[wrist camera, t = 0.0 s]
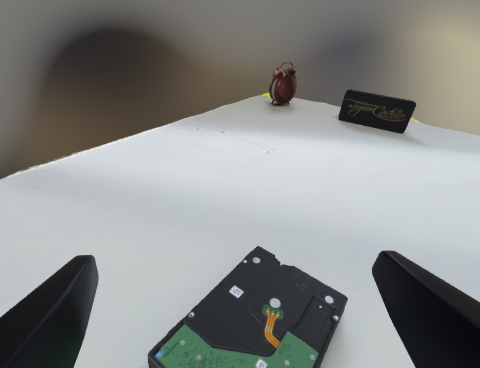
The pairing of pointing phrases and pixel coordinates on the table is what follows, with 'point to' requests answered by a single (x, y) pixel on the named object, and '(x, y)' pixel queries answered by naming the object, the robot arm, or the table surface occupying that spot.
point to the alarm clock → (283, 84)
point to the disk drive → (255, 321)
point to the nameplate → (376, 110)
